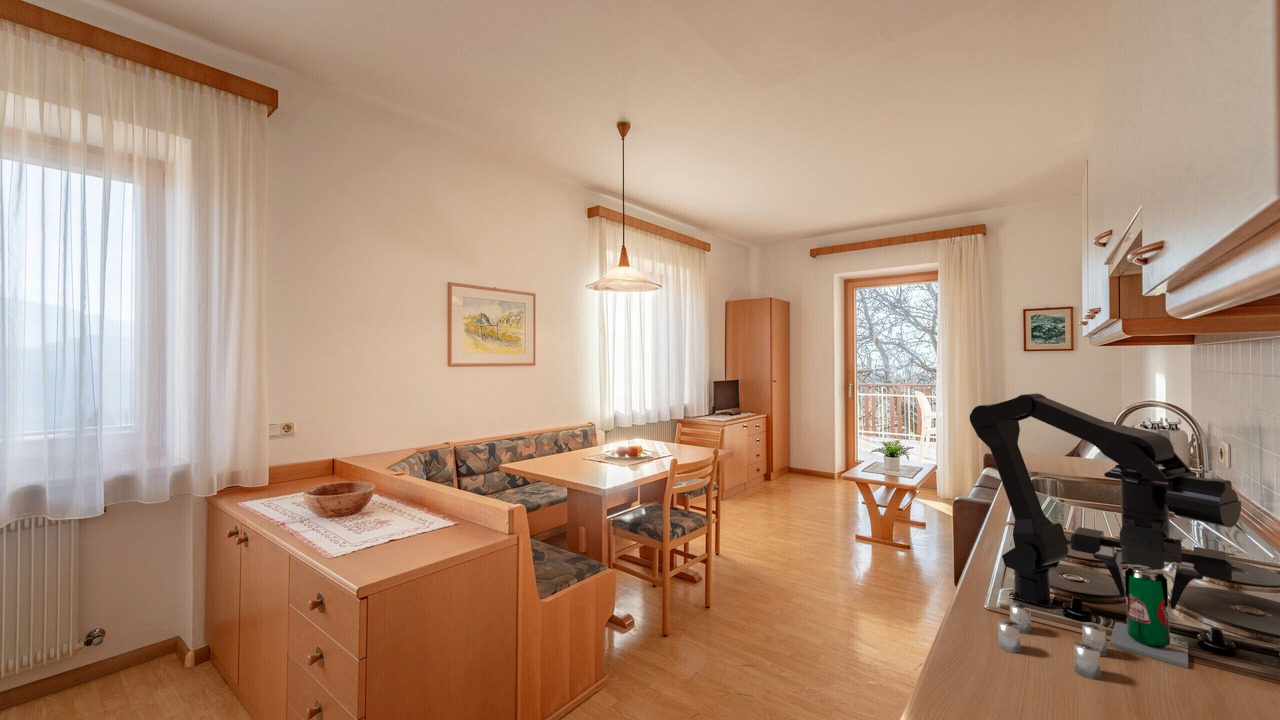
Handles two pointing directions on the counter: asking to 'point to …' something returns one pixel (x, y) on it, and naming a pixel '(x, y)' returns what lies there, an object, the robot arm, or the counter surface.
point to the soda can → (1147, 605)
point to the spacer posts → (1083, 651)
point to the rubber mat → (1147, 647)
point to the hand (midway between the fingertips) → (1147, 602)
